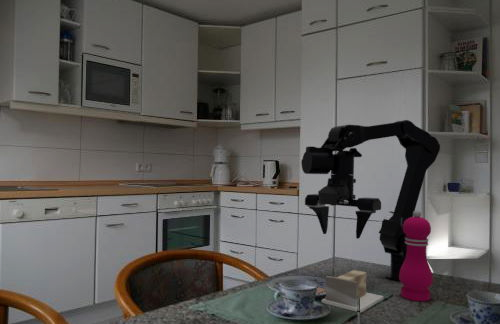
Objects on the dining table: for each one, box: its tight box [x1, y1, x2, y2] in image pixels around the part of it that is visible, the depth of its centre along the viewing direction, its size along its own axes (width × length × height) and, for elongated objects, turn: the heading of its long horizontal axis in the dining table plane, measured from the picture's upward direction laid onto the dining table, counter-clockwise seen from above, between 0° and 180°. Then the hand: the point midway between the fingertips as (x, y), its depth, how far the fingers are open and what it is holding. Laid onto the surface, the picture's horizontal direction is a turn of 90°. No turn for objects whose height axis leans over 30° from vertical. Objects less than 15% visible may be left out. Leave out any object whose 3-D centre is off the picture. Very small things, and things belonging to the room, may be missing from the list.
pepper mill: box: [399, 209, 434, 302], centre depth 95 cm, size 7×7×20 cm
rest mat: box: [321, 291, 384, 313], centre depth 91 cm, size 12×9×1 cm
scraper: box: [324, 269, 367, 307], centre depth 91 cm, size 10×7×5 cm
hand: (340, 236), depth 104 cm, fingers open, 9 cm apart
